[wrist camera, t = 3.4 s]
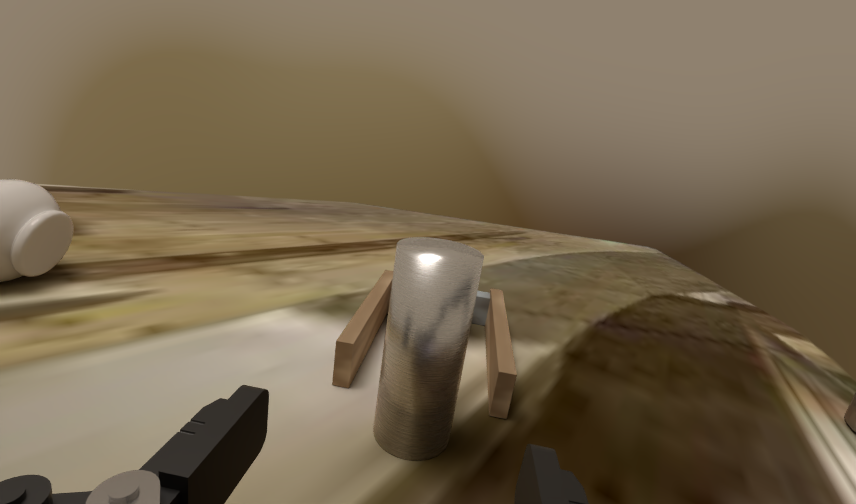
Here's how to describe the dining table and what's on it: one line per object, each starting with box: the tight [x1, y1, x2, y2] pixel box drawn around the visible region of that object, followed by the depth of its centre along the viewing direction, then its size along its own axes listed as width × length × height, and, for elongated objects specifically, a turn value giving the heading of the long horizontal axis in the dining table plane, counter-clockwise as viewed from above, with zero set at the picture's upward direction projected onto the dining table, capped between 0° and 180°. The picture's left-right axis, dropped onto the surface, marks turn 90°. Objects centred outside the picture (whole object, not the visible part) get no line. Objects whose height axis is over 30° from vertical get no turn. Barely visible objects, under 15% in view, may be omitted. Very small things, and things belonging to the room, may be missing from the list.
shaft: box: [373, 237, 484, 460], centre depth 24 cm, size 5×5×12 cm
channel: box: [332, 270, 517, 419], centre depth 36 cm, size 12×16×4 cm
